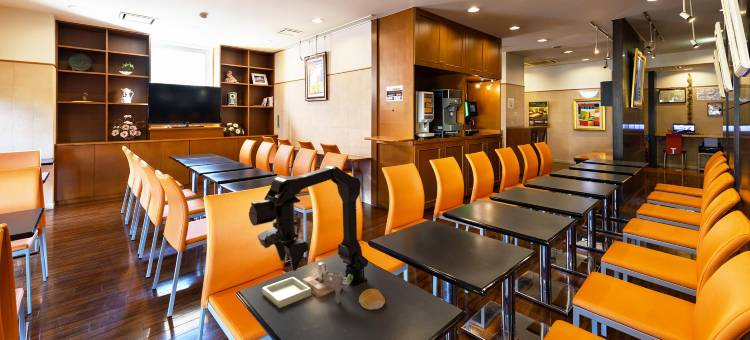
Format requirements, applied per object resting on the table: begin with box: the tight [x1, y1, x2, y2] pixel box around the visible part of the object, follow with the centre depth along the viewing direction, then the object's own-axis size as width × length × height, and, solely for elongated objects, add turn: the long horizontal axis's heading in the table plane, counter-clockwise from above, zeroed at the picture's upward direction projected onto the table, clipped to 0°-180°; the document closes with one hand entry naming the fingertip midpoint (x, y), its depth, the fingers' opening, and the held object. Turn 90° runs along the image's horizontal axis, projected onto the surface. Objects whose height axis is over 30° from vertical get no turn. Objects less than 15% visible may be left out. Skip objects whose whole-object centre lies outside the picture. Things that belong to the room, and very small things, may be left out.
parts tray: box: [262, 276, 312, 309], centre depth 123 cm, size 12×12×2 cm
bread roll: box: [358, 288, 386, 311], centre depth 118 cm, size 8×9×4 cm
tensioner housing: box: [302, 273, 343, 298], centre depth 128 cm, size 10×10×3 cm
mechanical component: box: [322, 270, 353, 304], centre depth 117 cm, size 3×10×10 cm, turn 78°
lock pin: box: [316, 261, 327, 283], centre depth 127 cm, size 3×3×9 cm
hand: (288, 265), depth 113 cm, fingers open, 9 cm apart
